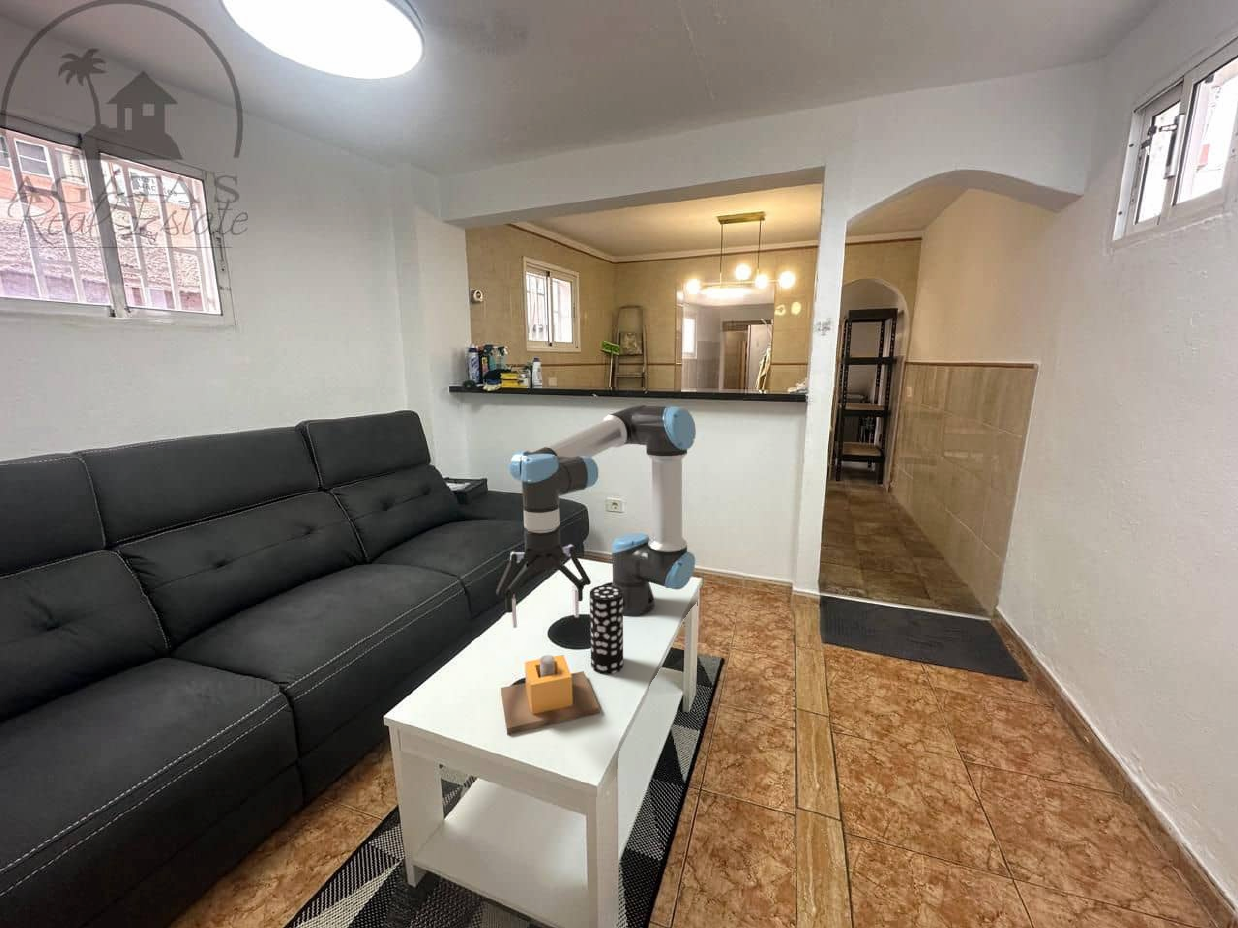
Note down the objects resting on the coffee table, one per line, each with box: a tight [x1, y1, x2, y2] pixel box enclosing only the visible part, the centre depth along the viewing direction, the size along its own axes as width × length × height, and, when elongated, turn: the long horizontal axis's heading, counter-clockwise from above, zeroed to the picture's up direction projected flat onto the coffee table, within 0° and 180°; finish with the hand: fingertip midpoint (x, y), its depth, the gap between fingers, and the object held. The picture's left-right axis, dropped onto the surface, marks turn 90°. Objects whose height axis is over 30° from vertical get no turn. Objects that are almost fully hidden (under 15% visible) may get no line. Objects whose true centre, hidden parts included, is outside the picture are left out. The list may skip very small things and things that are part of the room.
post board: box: [500, 654, 600, 736], centre depth 110 cm, size 20×14×11 cm
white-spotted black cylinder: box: [589, 584, 624, 675], centre depth 124 cm, size 8×8×20 cm
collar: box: [524, 654, 573, 714], centre depth 110 cm, size 9×9×7 cm
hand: (545, 619), depth 108 cm, fingers open, 13 cm apart
